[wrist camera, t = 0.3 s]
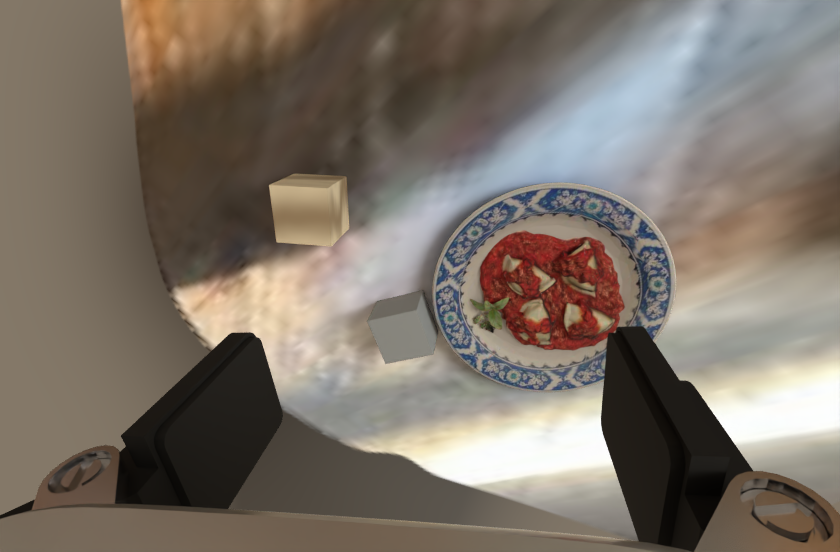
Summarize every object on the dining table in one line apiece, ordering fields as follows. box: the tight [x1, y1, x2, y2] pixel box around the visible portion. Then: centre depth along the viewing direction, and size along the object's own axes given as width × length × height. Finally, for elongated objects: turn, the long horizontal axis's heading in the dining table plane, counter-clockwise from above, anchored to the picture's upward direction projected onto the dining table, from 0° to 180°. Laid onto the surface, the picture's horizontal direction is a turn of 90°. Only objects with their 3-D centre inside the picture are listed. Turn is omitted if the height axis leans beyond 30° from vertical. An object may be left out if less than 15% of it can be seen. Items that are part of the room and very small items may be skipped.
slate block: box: [367, 290, 438, 364], centre depth 50 cm, size 6×6×5 cm
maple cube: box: [269, 174, 349, 246], centre depth 45 cm, size 6×6×6 cm
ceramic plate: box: [432, 183, 676, 392], centre depth 47 cm, size 26×26×3 cm
